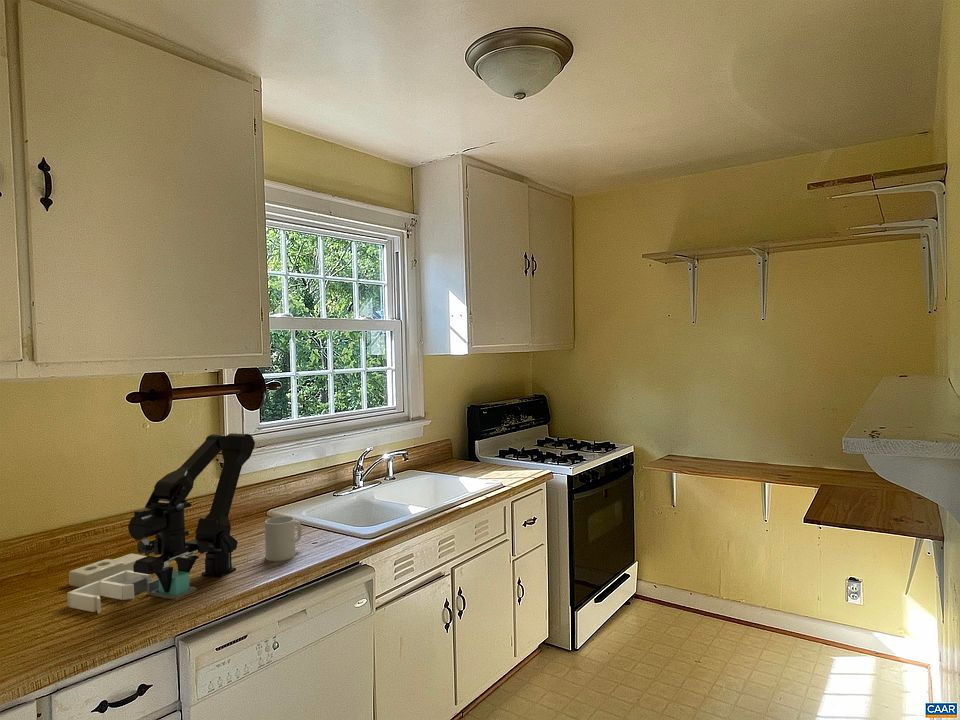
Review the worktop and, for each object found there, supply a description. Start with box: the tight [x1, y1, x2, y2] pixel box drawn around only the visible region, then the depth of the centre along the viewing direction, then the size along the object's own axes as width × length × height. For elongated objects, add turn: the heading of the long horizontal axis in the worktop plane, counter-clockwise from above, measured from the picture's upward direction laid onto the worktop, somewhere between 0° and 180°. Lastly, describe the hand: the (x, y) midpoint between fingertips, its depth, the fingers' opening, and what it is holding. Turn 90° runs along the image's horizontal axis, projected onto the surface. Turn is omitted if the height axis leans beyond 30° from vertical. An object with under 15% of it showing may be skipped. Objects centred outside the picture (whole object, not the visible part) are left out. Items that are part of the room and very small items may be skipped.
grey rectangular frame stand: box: [146, 577, 197, 601], centre depth 157 cm, size 10×6×3 cm, turn 68°
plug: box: [157, 569, 190, 595], centre depth 157 cm, size 7×4×5 cm, turn 68°
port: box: [66, 570, 153, 615], centre depth 154 cm, size 11×16×4 cm
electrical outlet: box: [68, 552, 148, 588], centre depth 170 cm, size 7×4×18 cm
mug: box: [264, 515, 303, 562], centre depth 184 cm, size 12×8×11 cm
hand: (174, 589), depth 156 cm, fingers closed on plug, 4 cm apart
